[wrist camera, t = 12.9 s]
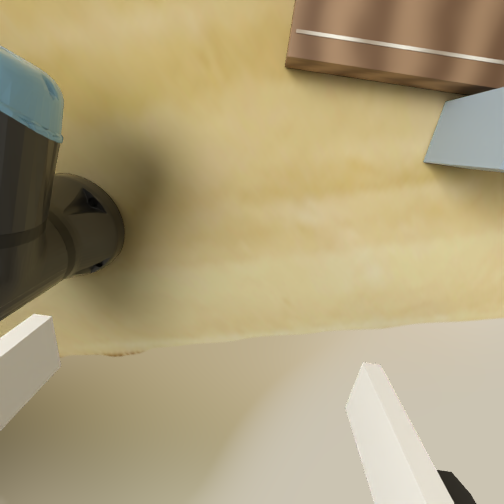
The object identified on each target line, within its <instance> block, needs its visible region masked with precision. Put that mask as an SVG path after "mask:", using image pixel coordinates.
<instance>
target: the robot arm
mask: <svg viewBox="0 0 504 504" xmlns="http://www.w3.org/2000/svg"><path fill="white" fill-rule="evenodd" d="M63 107H64V99H63V95H62V92H61V90H60V88H59V86H58V85H57V83H56V82H55V81H54V80H53V79H52V78H51V77H50V76H49V75H48V74H46V73H45V72H44V71H42V70H41V69H39V68H38V67H36V66H35V65H33V64H31V63H30V62H28V61H26V60H25V59H23V58H21V57H20V56H18V55H16V54H14V53H13V52H11V51H9V50H7V49H6V48H4V47H2V46H0V321H1V320H3V319H4V318H6V317H7V316H9V315H10V314H12V313H13V312H15V311H16V310H18V309H19V308H21V307H22V306H24V305H25V304H27V303H28V302H30V301H32V300H33V299H35V298H36V297H38V296H39V295H41V294H42V293H44V292H45V291H47V290H48V289H50V288H51V287H53V286H54V285H56V284H57V283H59V282H60V281H62V280H63V279H67V278H71V277H76V276H81V275H85V274H89V273H93V272H96V271H98V270H100V269H102V268H103V267H105V266H106V265H108V264H109V263H110V262H112V261H113V260H114V259H115V258H116V257H117V256H118V254H119V253H120V251H121V249H122V246H123V242H124V225H123V221H122V218H121V215H120V213H119V211H118V209H117V207H116V205H115V204H114V202H113V201H112V200H111V198H110V197H109V196H108V195H107V194H106V193H105V192H104V191H103V190H102V189H101V188H100V187H98V186H97V185H95V184H94V183H92V182H91V181H89V180H87V179H85V178H82V177H80V176H76V175H72V174H65V173H59V174H55V168H56V163H57V157H58V152H59V146H60V143H62V142H63V136H62V135H61V130H62V118H63ZM60 367H61V363H60V357H59V352H58V346H57V341H56V335H55V330H54V324H53V319H52V316H46V315H39V314H33V315H31V316H30V317H29V318H27V319H26V320H24V321H23V322H22V323H20V324H19V325H17V326H16V327H15V328H13V329H12V330H10V331H9V332H8V333H6V334H5V335H3V336H2V337H1V338H0V431H1V430H2V429H3V427H5V425H6V424H7V423H8V422H9V421H10V420H11V419H12V418H13V417H14V416H15V415H16V414H17V413H18V412H19V411H20V409H21V408H22V407H23V406H24V405H25V404H26V403H27V402H28V401H29V400H30V399H31V398H32V397H33V396H34V395H35V393H36V392H37V391H38V390H39V389H40V388H41V387H42V386H43V385H44V384H45V383H46V382H47V380H49V379H50V377H51V376H52V375H53V374H54V373H55V372H56V371H57V370H58V369H59V368H60ZM345 409H346V413H347V416H348V419H349V423H350V426H351V429H352V432H353V436H354V439H355V442H356V446H357V449H358V452H359V455H360V459H361V462H362V465H363V468H364V472H365V475H366V479H367V482H368V485H369V488H370V492H371V495H372V498H373V502H374V504H476V503H475V501H474V499H473V497H472V496H471V494H470V493H469V492H468V490H467V489H465V487H464V486H463V485H462V484H461V482H460V481H459V480H458V479H457V478H456V477H455V476H454V474H453V473H452V472H447V471H440V470H436V468H435V466H434V464H433V463H432V460H431V458H430V457H429V455H428V453H427V451H426V449H425V447H424V445H423V443H422V441H421V440H420V438H419V436H418V434H417V432H416V430H415V428H414V426H413V425H412V423H411V421H410V419H409V417H408V416H407V413H406V411H405V409H404V408H403V406H402V404H401V402H400V400H399V398H398V397H397V394H396V392H395V391H394V389H393V387H392V385H391V383H390V381H389V379H388V377H387V375H386V373H385V372H384V370H383V368H382V366H381V365H380V364H373V363H366V362H363V363H362V365H361V368H360V370H359V374H358V376H357V378H356V381H355V383H354V386H353V388H352V391H351V393H350V396H349V398H348V401H347V403H346V406H345Z"/></svg>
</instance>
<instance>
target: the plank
mask: <svg viewBox="0 0 504 504" xmlns="http://www.w3.org/2000/svg"><path fill="white" fill-rule="evenodd" d="M285 67H288V68H294V69H301V70H307V71H314V72H320V73H327V74H333V75H340V76H347V77H353V78H360V79H366V80H373V81H379V82H386V83H392V84H399V85H405V86H412V87H419V88H425V89H432V90H438V91H445V92H451V93H458V94H464V95H474V94H478V93H482V92H486V91H490V90H493V89H497V88H501V87H504V0H295V5H294V12H293V18H292V24H291V31H290V37H289V43H288V50H287V56H286V63H285Z"/></svg>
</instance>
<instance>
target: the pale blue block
mask: <svg viewBox="0 0 504 504" xmlns="http://www.w3.org/2000/svg"><path fill="white" fill-rule="evenodd" d="M423 162H427V163H433V164H440V165H446V166H453V167H460V168H466V169H475V170H484V171H494V172H503V173H504V87H501V88H497V89H493V90H490V91H486V92H482V93H478V94H474V95H470V96H466V97H462V98H458V99H454V100H450V101H446V102H445V105H444V107H443V110H442V113H441V115H440V118H439V121H438V124H437V126H436V129H435V132H434V134H433V137H432V140H431V142H430V145H429V148H428V151H427V153H426V156H425V159H424V161H423Z"/></svg>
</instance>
